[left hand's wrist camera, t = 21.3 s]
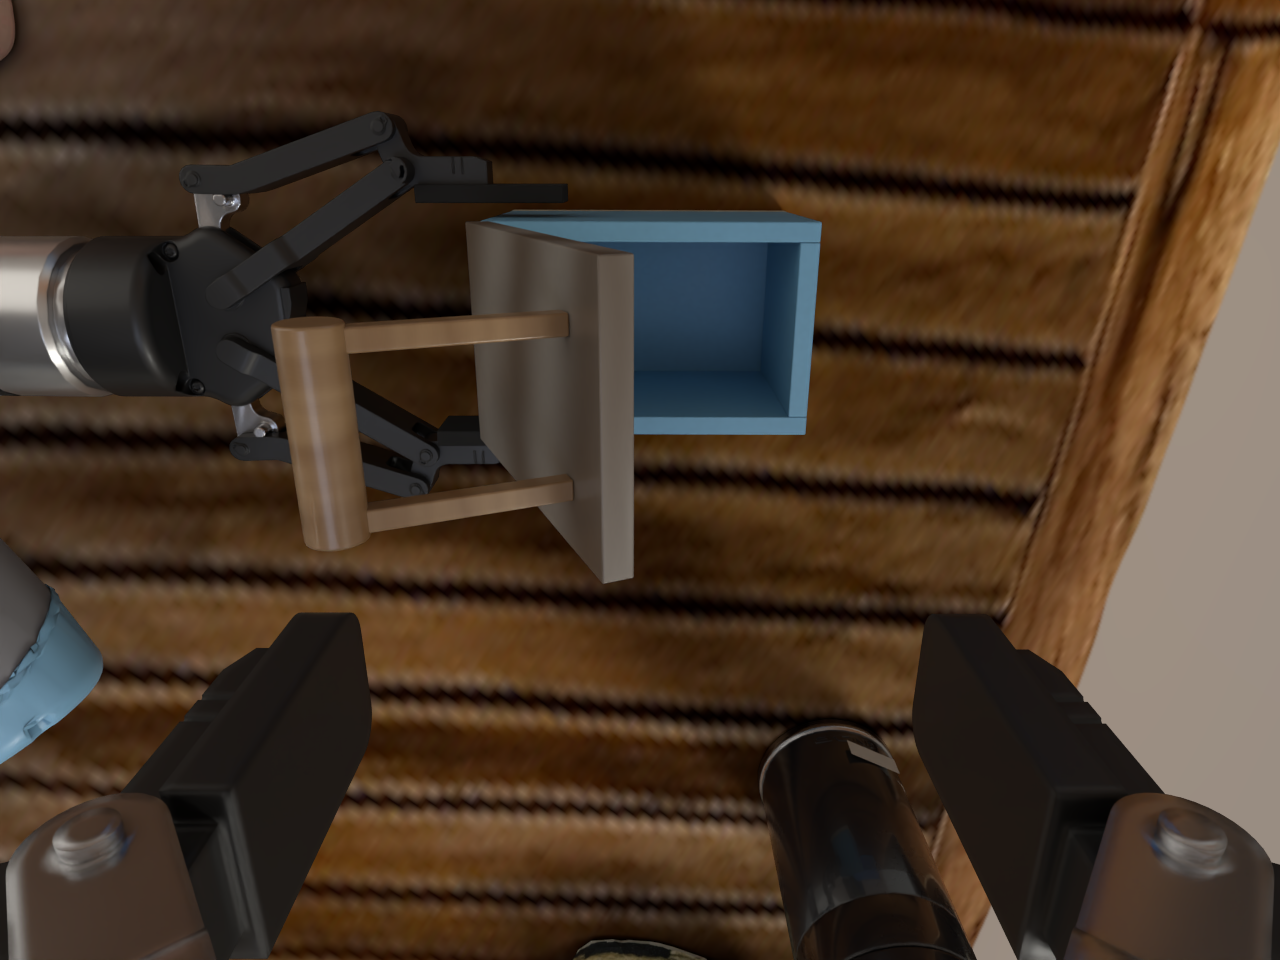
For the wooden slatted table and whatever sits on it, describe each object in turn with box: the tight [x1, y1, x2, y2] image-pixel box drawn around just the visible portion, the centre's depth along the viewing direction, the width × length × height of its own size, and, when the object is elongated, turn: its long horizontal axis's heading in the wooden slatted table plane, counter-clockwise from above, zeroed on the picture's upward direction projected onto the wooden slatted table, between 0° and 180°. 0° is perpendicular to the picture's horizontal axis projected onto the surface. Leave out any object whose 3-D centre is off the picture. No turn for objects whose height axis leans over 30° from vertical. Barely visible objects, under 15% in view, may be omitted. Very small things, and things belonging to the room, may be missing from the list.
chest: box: [482, 210, 822, 435], centre depth 41 cm, size 14×9×10 cm, turn 90°
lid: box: [271, 221, 634, 584], centre depth 27 cm, size 15×9×9 cm
